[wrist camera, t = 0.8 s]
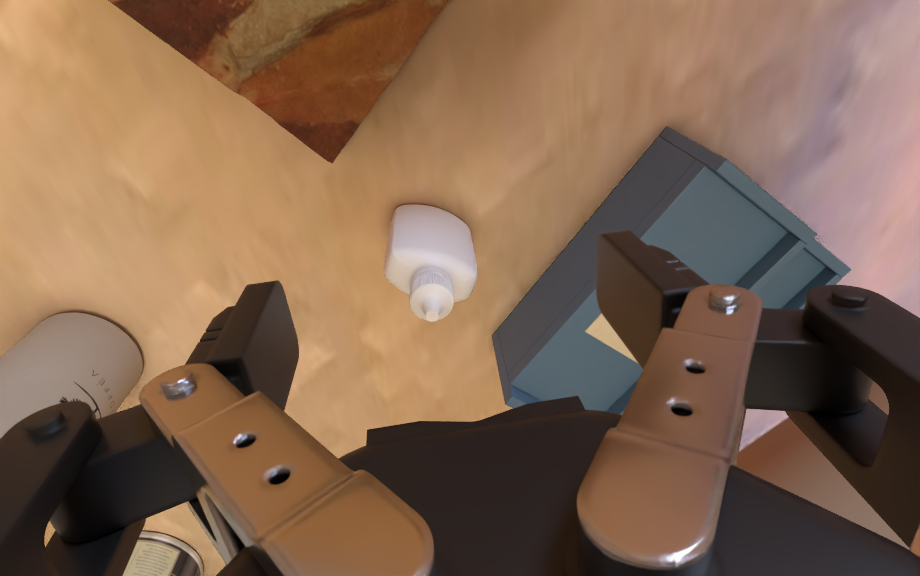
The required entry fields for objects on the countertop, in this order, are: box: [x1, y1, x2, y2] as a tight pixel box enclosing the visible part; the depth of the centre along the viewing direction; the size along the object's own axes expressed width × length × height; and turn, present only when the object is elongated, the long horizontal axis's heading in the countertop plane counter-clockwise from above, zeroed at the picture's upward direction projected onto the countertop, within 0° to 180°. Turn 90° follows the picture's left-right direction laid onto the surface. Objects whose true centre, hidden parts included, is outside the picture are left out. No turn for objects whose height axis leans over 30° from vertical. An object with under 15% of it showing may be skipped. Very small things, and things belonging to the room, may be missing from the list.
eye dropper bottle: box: [384, 204, 477, 322], centre depth 34 cm, size 4×6×12 cm
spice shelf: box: [492, 127, 851, 415], centre depth 39 cm, size 20×16×8 cm
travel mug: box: [0, 313, 143, 439], centre depth 34 cm, size 8×8×18 cm
